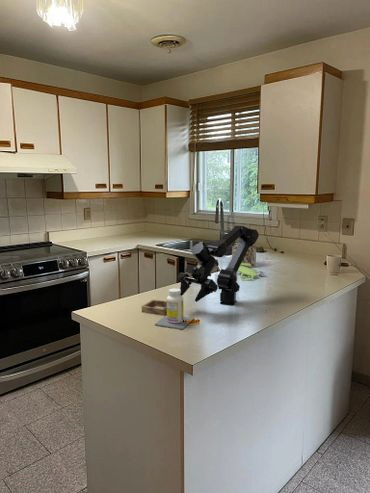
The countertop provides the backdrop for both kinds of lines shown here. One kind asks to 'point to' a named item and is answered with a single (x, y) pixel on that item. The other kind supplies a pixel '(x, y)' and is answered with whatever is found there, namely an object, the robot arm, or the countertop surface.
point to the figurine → (248, 272)
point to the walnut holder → (150, 309)
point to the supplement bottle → (175, 306)
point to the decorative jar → (247, 255)
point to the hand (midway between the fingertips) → (187, 298)
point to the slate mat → (165, 323)
